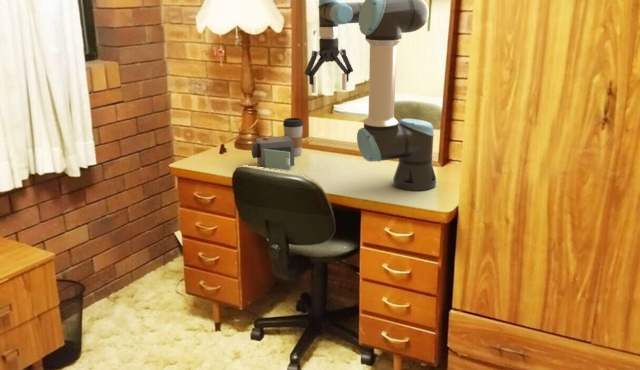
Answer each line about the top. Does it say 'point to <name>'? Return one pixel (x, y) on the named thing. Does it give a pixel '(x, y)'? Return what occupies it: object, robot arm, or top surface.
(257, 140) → the camera body
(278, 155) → the side door
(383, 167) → the top surface
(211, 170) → the top surface
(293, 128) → the coffee cup
